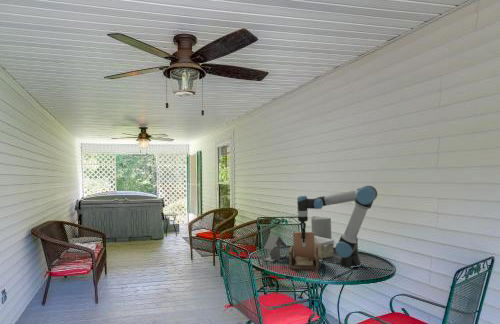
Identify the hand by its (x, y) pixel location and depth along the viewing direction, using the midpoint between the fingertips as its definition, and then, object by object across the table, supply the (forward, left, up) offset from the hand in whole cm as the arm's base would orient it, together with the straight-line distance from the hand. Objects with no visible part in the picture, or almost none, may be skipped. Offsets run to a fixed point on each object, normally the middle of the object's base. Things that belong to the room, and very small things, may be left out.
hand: (304, 245), depth 256 cm
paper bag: (-50, -17, -15) cm, 55 cm away
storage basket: (-28, -4, -15) cm, 32 cm away
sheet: (0, 0, -14) cm, 14 cm away
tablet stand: (0, -29, -15) cm, 32 cm away
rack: (+4, +2, -15) cm, 16 cm away
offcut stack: (+8, +5, -14) cm, 17 cm away
